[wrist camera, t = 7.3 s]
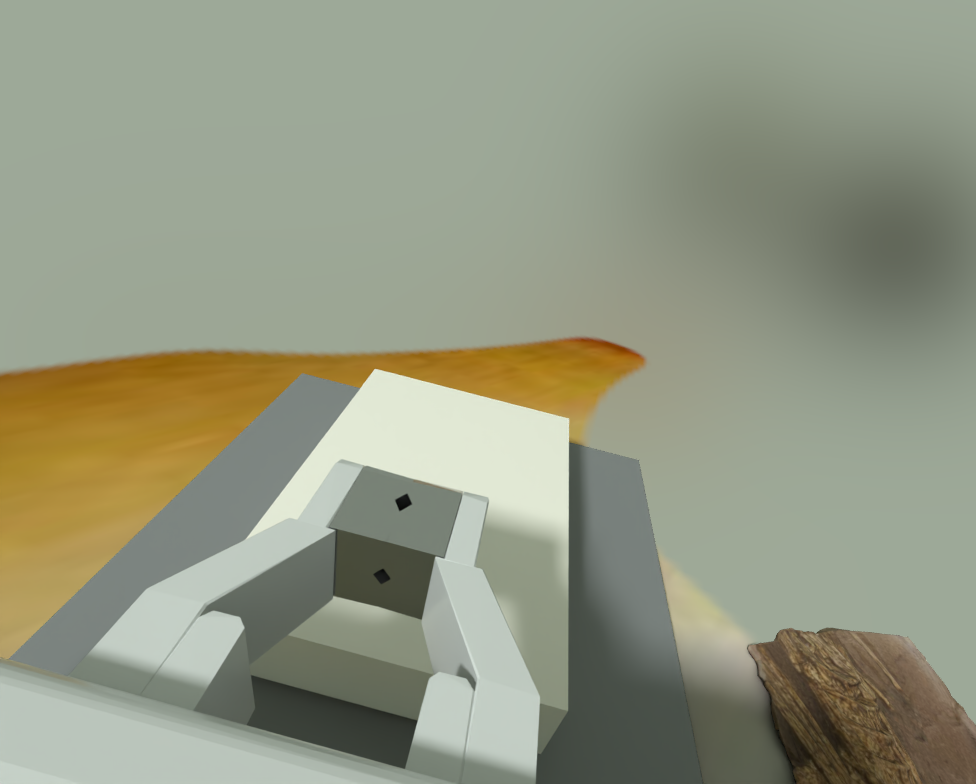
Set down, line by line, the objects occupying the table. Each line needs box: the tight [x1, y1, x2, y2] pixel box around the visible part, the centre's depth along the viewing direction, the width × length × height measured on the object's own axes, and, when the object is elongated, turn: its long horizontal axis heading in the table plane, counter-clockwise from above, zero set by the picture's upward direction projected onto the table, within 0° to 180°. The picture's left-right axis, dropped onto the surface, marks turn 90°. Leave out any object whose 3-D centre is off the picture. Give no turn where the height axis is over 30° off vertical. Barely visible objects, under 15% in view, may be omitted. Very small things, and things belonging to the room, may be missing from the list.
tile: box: [246, 369, 569, 754], centre depth 17 cm, size 9×3×12 cm
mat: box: [9, 373, 703, 784], centre depth 17 cm, size 18×18×1 cm
